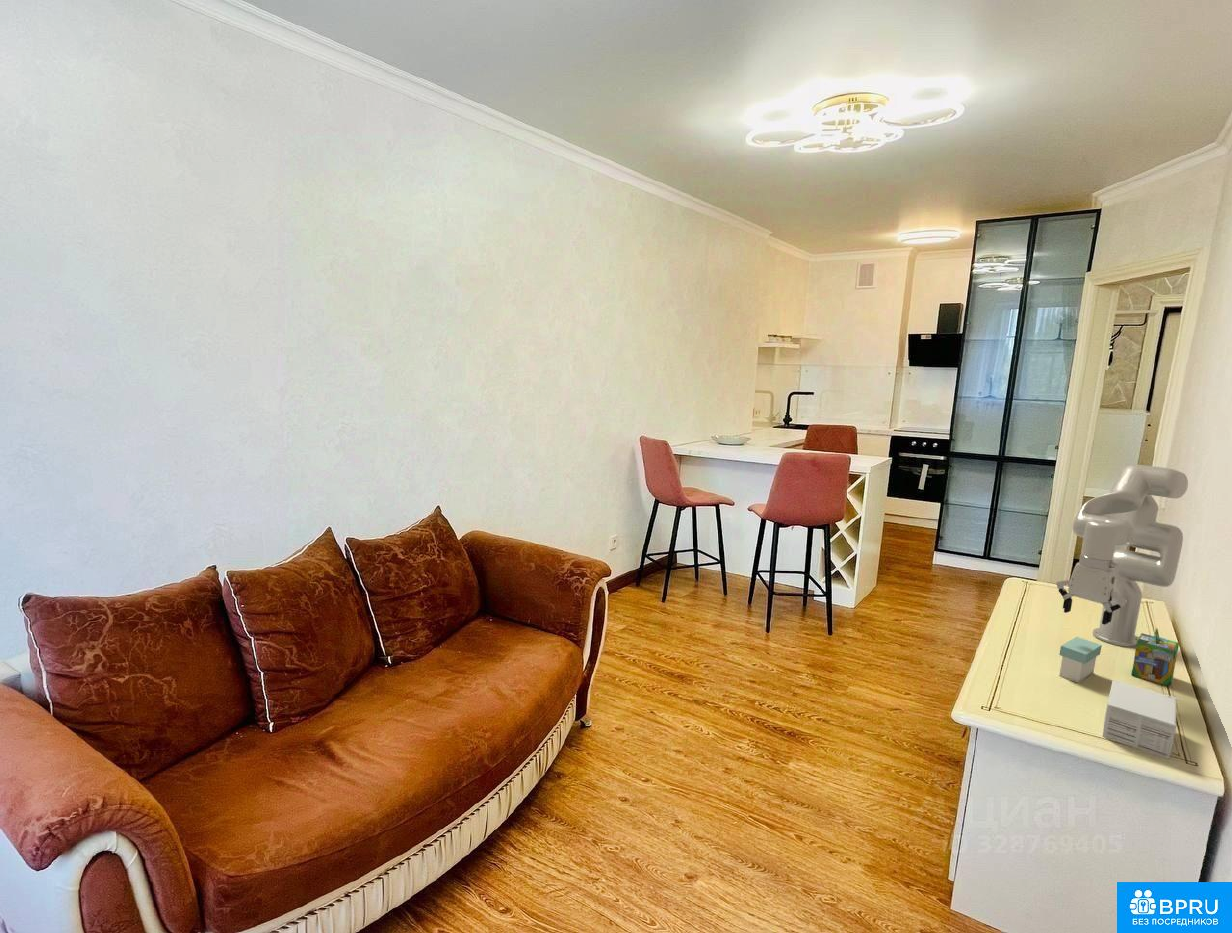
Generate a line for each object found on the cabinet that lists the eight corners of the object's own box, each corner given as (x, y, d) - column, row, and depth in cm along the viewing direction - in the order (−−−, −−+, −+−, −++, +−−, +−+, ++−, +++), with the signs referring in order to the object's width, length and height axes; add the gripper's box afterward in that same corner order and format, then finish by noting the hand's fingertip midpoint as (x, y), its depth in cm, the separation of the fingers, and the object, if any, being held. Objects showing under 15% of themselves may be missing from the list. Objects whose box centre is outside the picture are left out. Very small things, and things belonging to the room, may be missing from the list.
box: (1074, 666, 192) (1077, 647, 191) (1093, 673, 188) (1096, 653, 187) (1059, 675, 186) (1062, 655, 185) (1078, 683, 182) (1082, 662, 181)
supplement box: (1106, 710, 169) (1112, 678, 167) (1170, 730, 160) (1177, 697, 158) (1100, 737, 156) (1106, 703, 155) (1169, 760, 148) (1177, 725, 146)
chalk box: (1170, 688, 181) (1179, 641, 178) (1130, 675, 187) (1138, 630, 185) (1173, 677, 187) (1183, 632, 184) (1135, 666, 194) (1143, 622, 191)
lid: (1074, 650, 192) (1076, 636, 191) (1099, 658, 187) (1101, 645, 186) (1058, 659, 186) (1060, 645, 185) (1083, 668, 181) (1086, 654, 180)
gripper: (1136, 569, 176) (1126, 625, 179) (1066, 552, 190) (1058, 605, 193) (1127, 573, 172) (1116, 631, 175) (1056, 556, 186) (1047, 609, 189)
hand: (1085, 617), depth 184 cm, fingers open, 9 cm apart
